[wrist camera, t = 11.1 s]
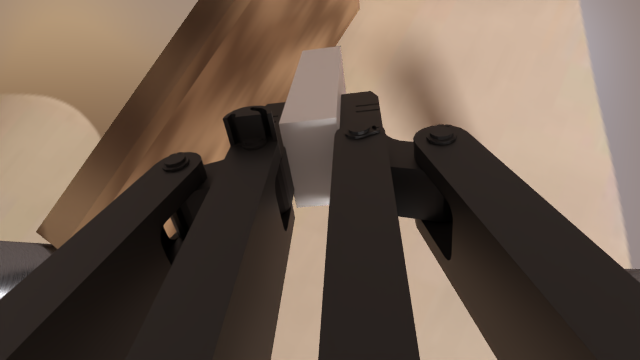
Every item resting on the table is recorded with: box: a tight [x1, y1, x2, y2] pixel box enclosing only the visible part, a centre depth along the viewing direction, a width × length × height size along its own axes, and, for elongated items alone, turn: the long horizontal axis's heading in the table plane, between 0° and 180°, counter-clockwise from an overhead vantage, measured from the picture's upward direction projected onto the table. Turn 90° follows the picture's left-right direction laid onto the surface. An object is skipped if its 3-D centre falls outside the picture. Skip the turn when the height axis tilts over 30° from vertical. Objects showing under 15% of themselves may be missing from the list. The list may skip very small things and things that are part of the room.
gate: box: [36, 0, 360, 249], centre depth 25 cm, size 22×2×13 cm, turn 148°
